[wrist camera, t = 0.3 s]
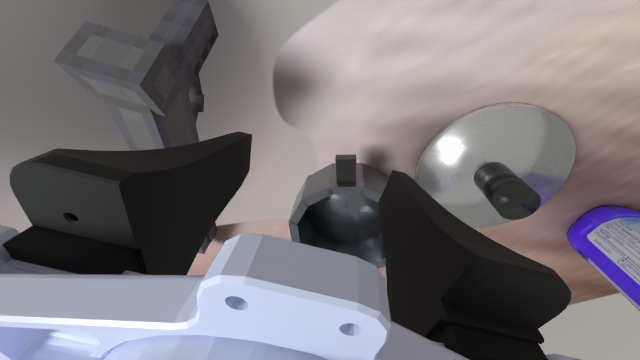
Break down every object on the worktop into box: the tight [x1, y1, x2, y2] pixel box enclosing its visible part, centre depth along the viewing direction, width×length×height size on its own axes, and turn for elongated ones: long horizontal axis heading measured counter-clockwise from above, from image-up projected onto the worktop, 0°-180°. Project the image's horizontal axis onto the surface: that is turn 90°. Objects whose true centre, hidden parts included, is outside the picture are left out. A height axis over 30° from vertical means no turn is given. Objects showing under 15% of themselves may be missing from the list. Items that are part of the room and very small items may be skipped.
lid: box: [415, 102, 576, 228], centre depth 19 cm, size 12×12×6 cm
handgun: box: [54, 0, 218, 254], centre depth 22 cm, size 4×24×10 cm, turn 166°
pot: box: [289, 155, 389, 268], centre depth 24 cm, size 15×11×4 cm
